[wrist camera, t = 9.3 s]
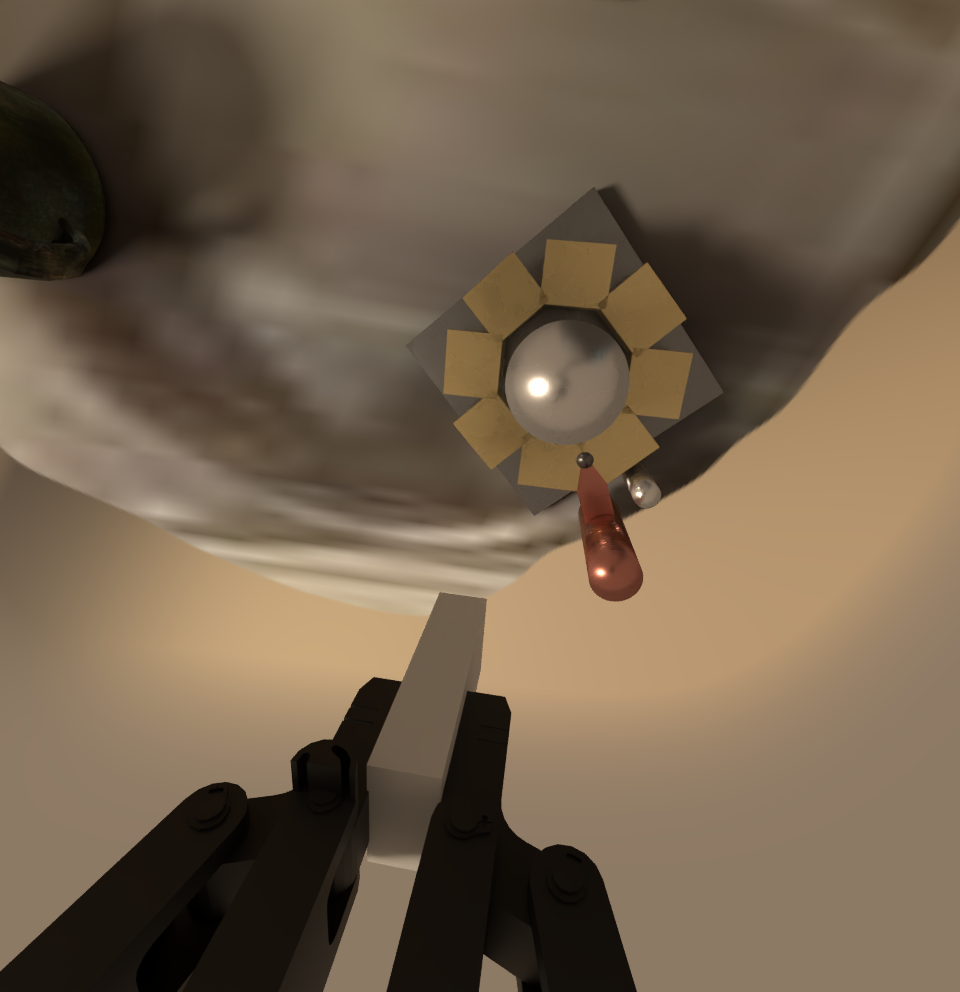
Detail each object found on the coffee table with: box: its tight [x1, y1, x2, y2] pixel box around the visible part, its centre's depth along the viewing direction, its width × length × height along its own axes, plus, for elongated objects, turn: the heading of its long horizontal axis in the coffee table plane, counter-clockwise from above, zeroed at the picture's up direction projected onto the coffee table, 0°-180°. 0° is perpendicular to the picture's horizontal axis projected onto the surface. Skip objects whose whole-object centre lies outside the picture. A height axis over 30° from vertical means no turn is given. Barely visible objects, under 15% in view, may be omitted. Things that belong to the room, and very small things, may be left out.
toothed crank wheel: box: [443, 239, 693, 601], centre depth 25 cm, size 16×12×8 cm
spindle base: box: [406, 187, 724, 515], centre depth 25 cm, size 13×15×10 cm
